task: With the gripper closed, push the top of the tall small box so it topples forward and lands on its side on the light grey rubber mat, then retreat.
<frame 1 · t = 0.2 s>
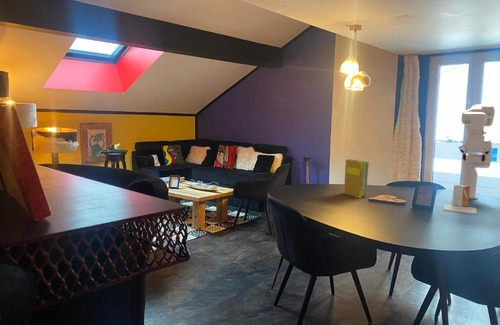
hand: (473, 161, 236), 31 cm above the table, fingers open, 9 cm apart
mat: (459, 209, 240), on the table
book: (353, 195, 276), on the table
small box: (459, 205, 250), on the table, touching mat
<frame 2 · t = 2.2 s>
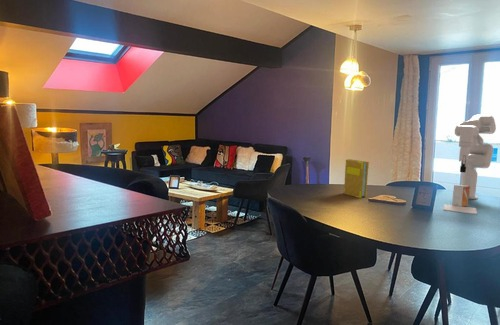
hand: (462, 172, 256), 21 cm above the table, fingers closed
nothing on the table moved.
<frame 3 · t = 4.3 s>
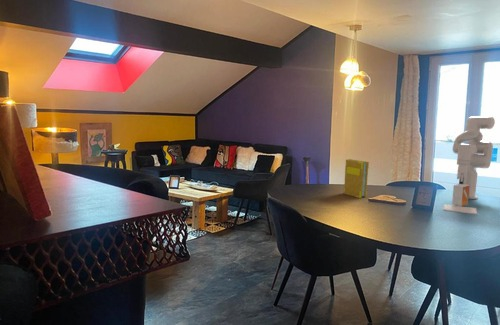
hand: (460, 190, 255), 9 cm above the table, fingers closed
small box: (460, 204, 250), point 1 cm above the table, touching gripper, mat
everything else where it was.
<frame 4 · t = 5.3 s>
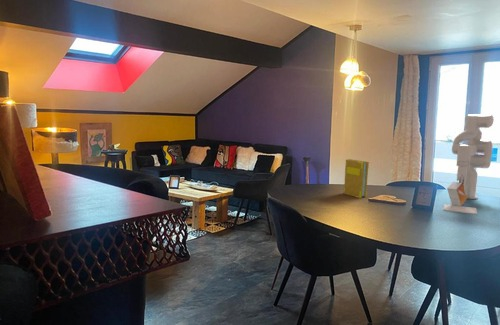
hand: (460, 191, 251), 9 cm above the table, fingers closed
small box: (459, 202, 250), point 2 cm above the table, touching gripper, mat
everything else where it was.
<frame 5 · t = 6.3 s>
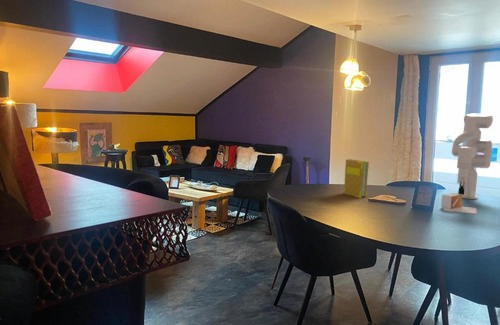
hand: (461, 194, 247), 8 cm above the table, fingers closed
small box: (457, 199, 248), point 5 cm above the table, touching gripper, mat
everything else where it was.
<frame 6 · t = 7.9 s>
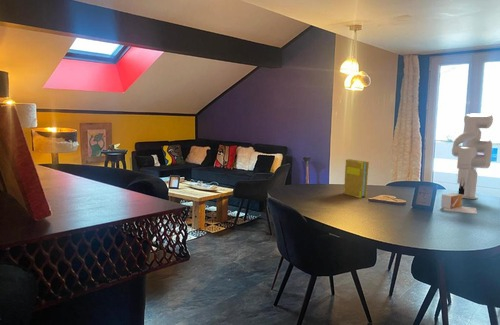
hand: (461, 194, 248), 8 cm above the table, fingers closed
small box: (457, 199, 247), point 5 cm above the table, touching mat
everything else where it was.
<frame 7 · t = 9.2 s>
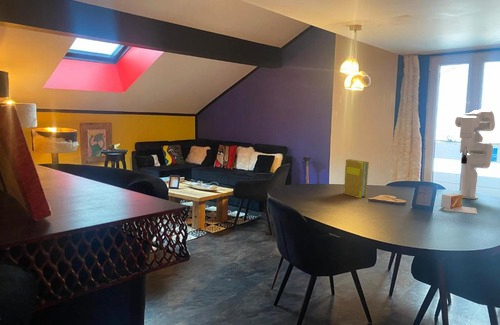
hand: (463, 163, 253), 27 cm above the table, fingers closed
nothing on the table moved.
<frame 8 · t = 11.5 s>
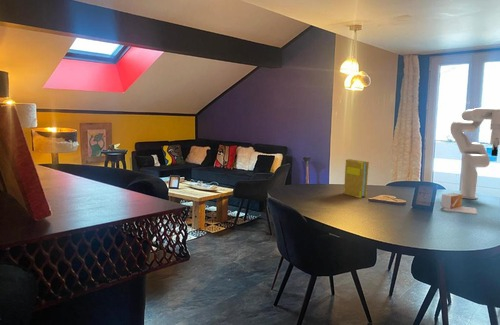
hand: (494, 155, 250), 33 cm above the table, fingers closed
nothing on the table moved.
at the end: small box tilted 90°; small box inside the target area (8.0 cm from its centre), point 4.7 cm above the table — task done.
